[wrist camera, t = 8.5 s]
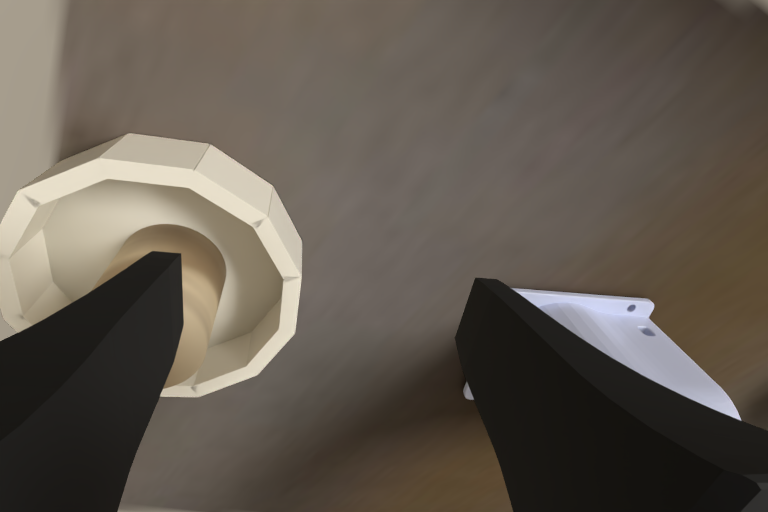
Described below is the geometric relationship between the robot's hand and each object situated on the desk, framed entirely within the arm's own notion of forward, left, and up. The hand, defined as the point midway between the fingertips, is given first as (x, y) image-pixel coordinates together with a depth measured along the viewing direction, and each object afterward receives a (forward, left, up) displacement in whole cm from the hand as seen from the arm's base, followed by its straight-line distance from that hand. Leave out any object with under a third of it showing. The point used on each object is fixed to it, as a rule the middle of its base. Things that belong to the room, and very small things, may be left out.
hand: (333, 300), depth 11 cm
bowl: (+6, +5, -9) cm, 12 cm away
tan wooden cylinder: (+6, +5, -9) cm, 12 cm away
